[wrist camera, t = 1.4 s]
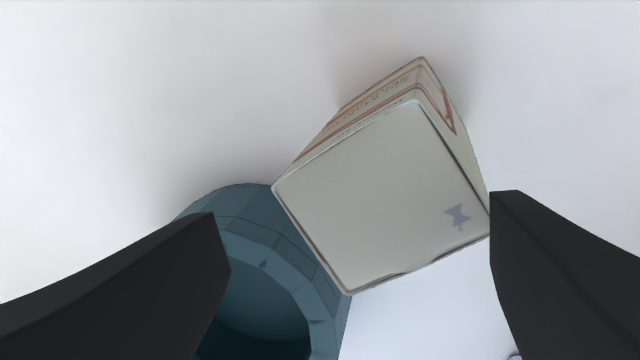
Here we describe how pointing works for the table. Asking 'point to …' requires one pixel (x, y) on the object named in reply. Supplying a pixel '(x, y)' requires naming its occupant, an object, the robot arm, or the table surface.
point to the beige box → (388, 183)
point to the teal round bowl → (269, 284)
